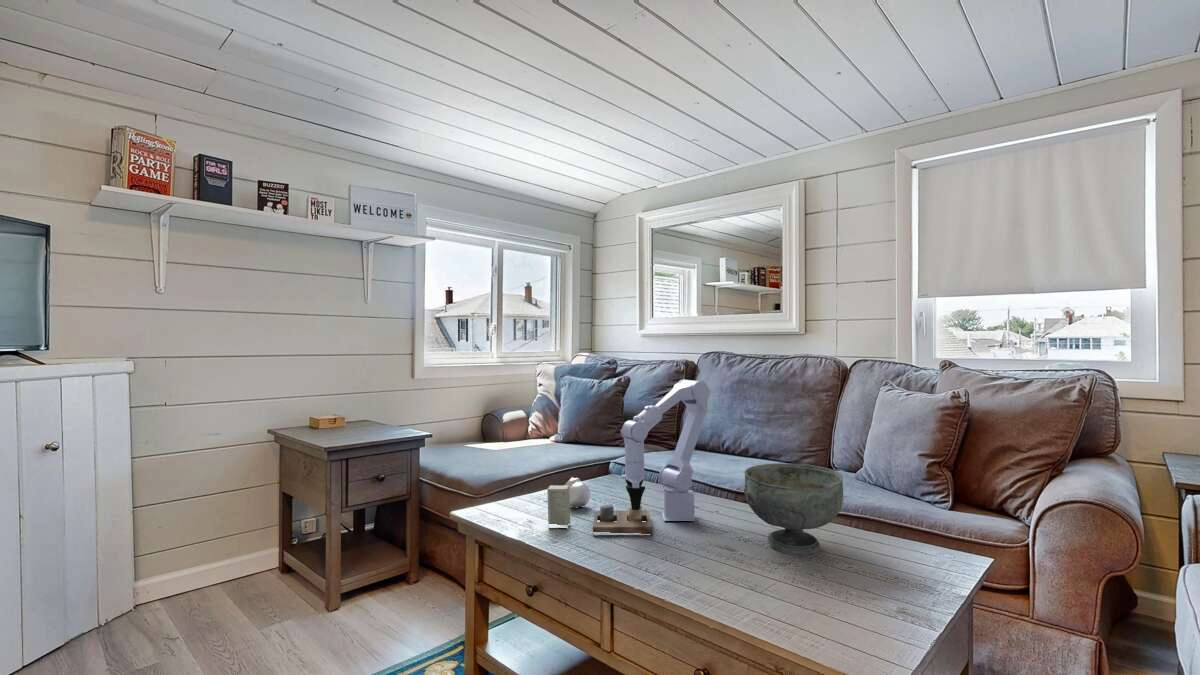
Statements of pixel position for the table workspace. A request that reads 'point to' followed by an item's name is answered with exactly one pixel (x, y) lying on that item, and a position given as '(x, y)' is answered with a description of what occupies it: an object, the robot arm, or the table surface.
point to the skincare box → (558, 504)
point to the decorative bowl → (794, 502)
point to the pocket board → (620, 521)
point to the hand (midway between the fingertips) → (635, 505)
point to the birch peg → (634, 515)
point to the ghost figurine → (578, 492)
